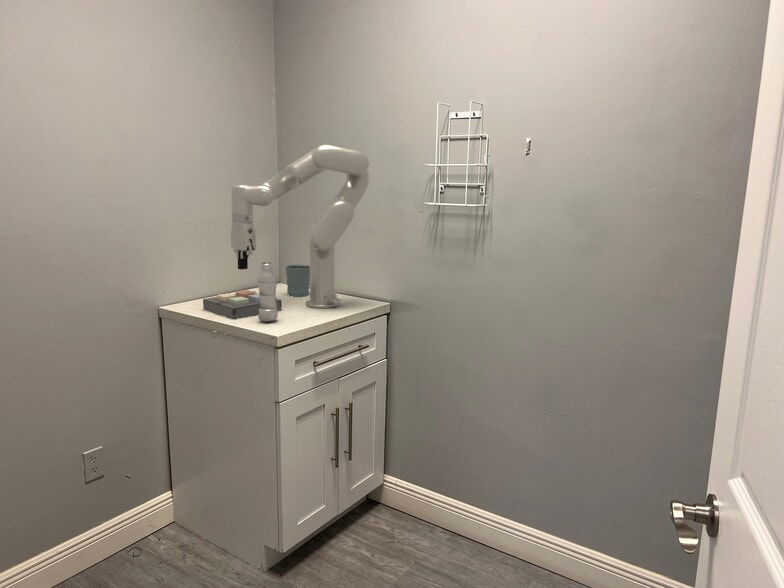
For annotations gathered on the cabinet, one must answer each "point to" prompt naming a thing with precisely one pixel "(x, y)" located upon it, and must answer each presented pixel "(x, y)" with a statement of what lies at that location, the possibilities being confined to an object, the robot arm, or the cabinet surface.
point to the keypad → (234, 308)
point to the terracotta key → (244, 293)
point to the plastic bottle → (267, 293)
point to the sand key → (225, 297)
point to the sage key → (238, 300)
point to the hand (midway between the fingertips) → (242, 268)
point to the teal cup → (298, 280)
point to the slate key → (254, 297)
